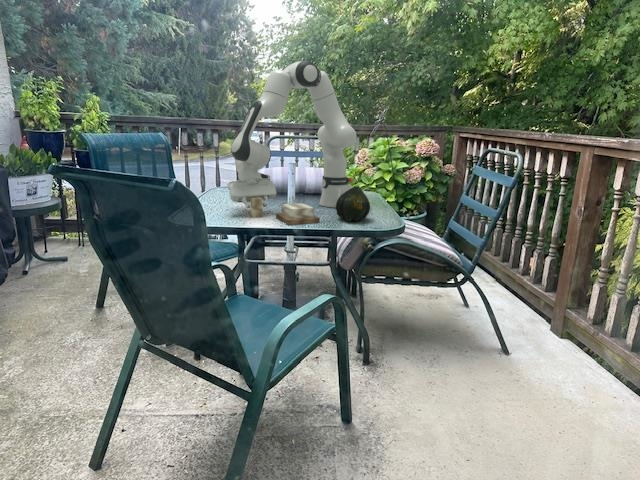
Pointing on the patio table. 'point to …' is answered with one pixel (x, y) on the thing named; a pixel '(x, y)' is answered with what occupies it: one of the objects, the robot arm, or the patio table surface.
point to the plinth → (297, 221)
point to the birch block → (256, 207)
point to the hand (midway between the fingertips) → (256, 206)
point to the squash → (353, 205)
